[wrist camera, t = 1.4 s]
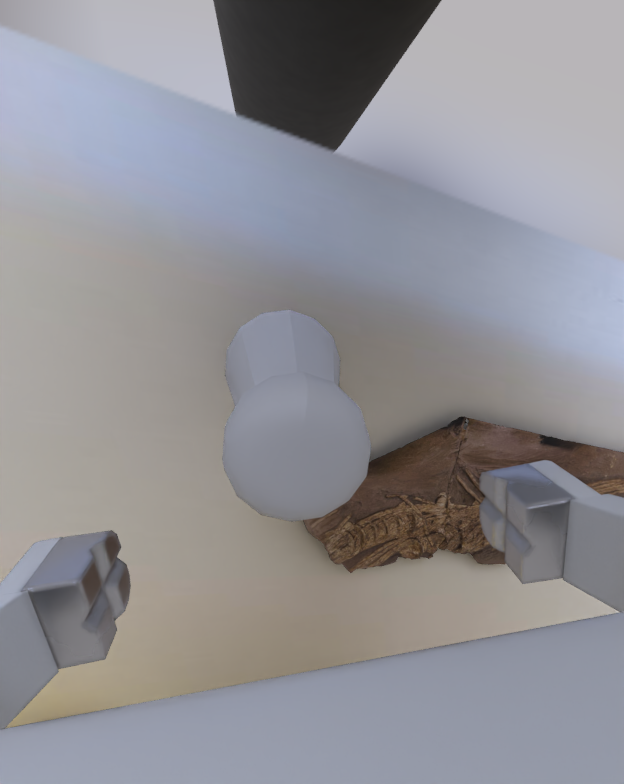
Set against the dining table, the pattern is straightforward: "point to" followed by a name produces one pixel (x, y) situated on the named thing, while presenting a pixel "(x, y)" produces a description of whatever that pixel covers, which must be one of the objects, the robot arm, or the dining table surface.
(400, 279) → the dining table surface
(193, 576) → the dining table surface
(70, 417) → the dining table surface
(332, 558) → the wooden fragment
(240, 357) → the salt shaker
